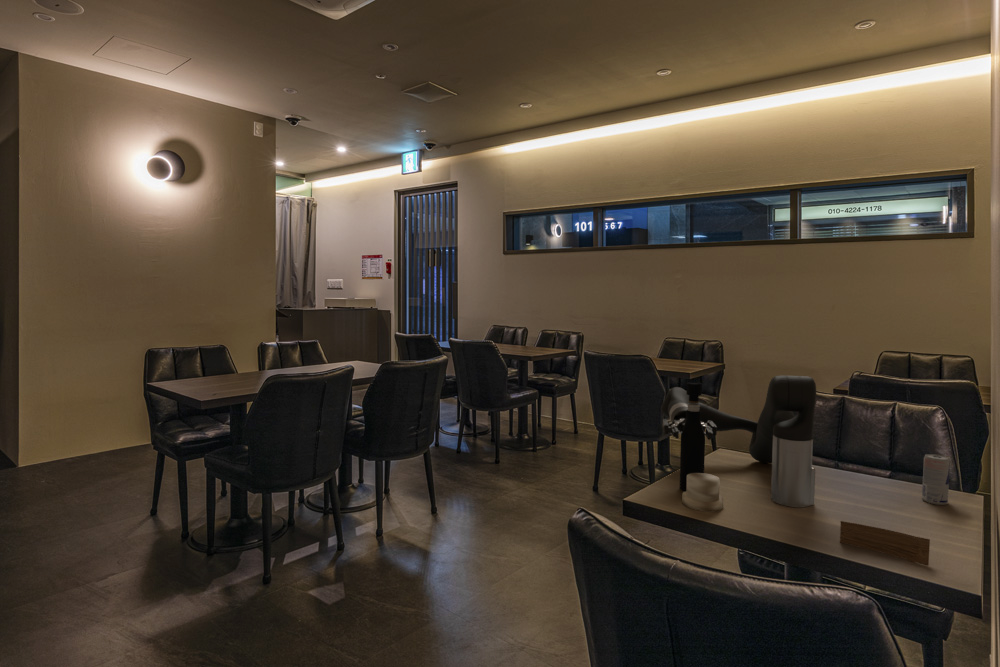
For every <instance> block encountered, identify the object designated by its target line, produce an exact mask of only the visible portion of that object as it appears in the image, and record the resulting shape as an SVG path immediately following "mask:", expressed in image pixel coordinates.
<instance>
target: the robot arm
mask: <svg viewBox="0 0 1000 667" xmlns="http://www.w3.org/2000/svg"><path fill="white" fill-rule="evenodd" d="M767 387H768V388H767V392H766V397H765V403H764V406H763V409H762V410H761V412H760V415H759V417H758V421H755V420H751V419H747V418H744V417H740V416H736V415H733V414H730V413H726V412H724V411H721V410H719V409H717V408H714V407H711V406H709V405H707V404H705V403H702V402H698V403H697V404H699V406H700V407H699V408H700V410H699V411H701V416H700V421H701V424H702V427H703V431H704V436H705V438H707V440H708V441H709V440H710V441H711V440H712V439H713V438H714V436H717V432H727V431H728V432H729V431H733V430H734V431H735V430H744V431H746V432H749V433H751V438H750V439H751V440H750V442H749V446H748V452H749V454H750V456H751V457H752V458H753V459H755V460H756V461H757V462H759V463H763V464H771V485H770V486H771V487H770V488H771V490H770V499H771V500H772V501H773V502H774V503H777V504H779V505H781V506H787V507H791V508H807V507H809V506H814V505H815V496H816V495H815V493H816V492H815V491H816V490H815V488H816V468H815V467H813V446H814V444H813V443H814V442H813V441H814V429H815V428H814V427H815V426H814V425H815V424H814V422H815V414H816V413H815V411H816V403H817V402H816V401H817V385H816V382H815V379H814V378H813V377H811V376H806V375H805V376H804V375H785V374H784V375H783V374H782V375H776V376H773V377H772V378H771V379H770V381H769V384H768V386H767ZM688 403H690V402H689V395H687V390H685V389H684V388H682V387H678V386H674V387H671V388H670V389H669V390H668V392H667V394H666V397H665V398H664V400H663V402H662V404H661V406H660V412H661V414H662V415H663V416H664V417H666V418H667V419H666V418H663V419H662V431H663V434H664V435H665V434H666V435H668V434H669V433H670V435H672V438H673V437H674V438H675V439H677V440H678V439H679V435H682V430H683V427H684V424H685V422H686V411H687V410H688V409H687V408H688V406H687V405H688ZM794 412H798V413H797V414H796V415H795V414H794ZM668 419H669V420H670V421H669V420H668Z"/></svg>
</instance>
